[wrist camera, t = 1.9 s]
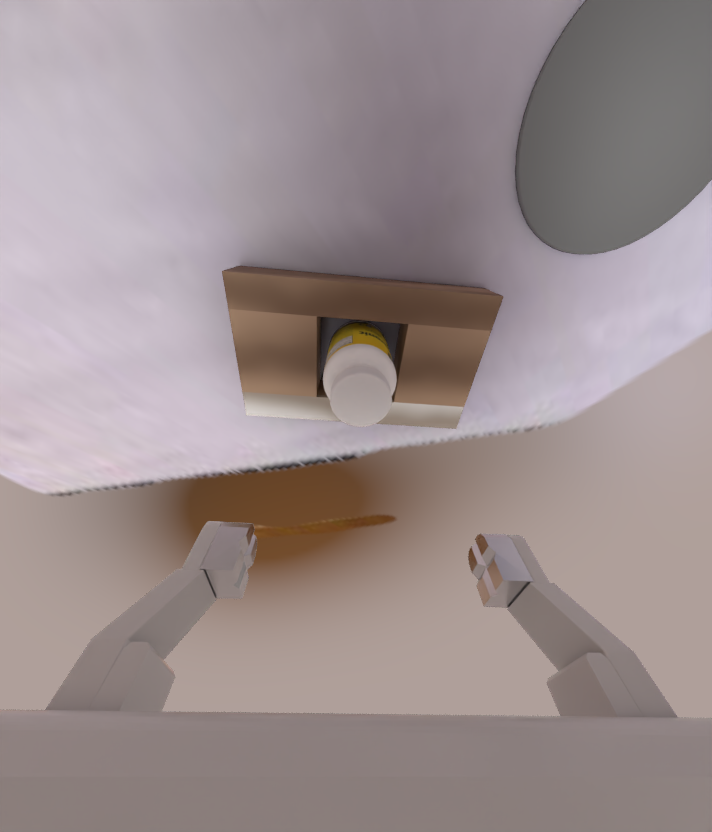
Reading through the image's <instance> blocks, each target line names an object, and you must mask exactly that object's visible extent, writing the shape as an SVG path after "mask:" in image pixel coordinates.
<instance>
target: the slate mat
mask: <svg viewBox="0 0 712 832" xmlns="http://www.w3.org/2000/svg"><path fill="white" fill-rule="evenodd" d="M711 180H712V0H586V1H585V2H584V3H583V5H582V6H581V7H580V9H579V10H578V11H577V13H576V14H575V15H574V17H573V18H572V19H571V21H570V22H569V23H568V25H567V26H566V28H565V29H564V31H563V33H562V34H561V36H560V37H559V39H558V40H557V42H556V44H555V45H554V47H553V49H552V51H551V53H550V54H549V56H548V58H547V60H546V62H545V64H544V66H543V68H542V70H541V72H540V74H539V77H538V79H537V81H536V84H535V86H534V88H533V90H532V93H531V96H530V99H529V102H528V105H527V108H526V111H525V114H524V118H523V122H522V126H521V130H520V134H519V140H518V147H517V154H516V188H517V194H518V200H519V204H520V207H521V210H522V213H523V216H524V218H525V220H526V222H527V224H528V226H529V227H530V228H531V230H532V231H533V232H534V234H535V235H536V236H537V237H538V238H539V239H540V240H542V241H543V242H544V243H546V244H547V245H549V246H550V247H552V248H554V249H557V250H560V251H562V252H568V253H573V254H597V253H604V252H607V251H611V250H615V249H618V248H621V247H623V246H626V245H629V244H631V243H633V242H635V241H637V240H639V239H641V238H643V237H645V236H646V235H648V234H649V233H651V232H653V231H654V230H656V229H658V228H659V227H660V226H662V225H663V224H664V223H666V222H667V221H668V220H670V219H671V218H673V217H674V216H675V215H676V214H677V213H678V212H680V211H681V210H682V209H683V208H684V207H685V206H687V205H688V204H689V203H690V202H691V201H692V200H693V199H694V198H695V197H696V196H697V195H698V194H699V193H700V192H701V191H702V190H703V189H704V188H705V186H706V185H707V184H708V183H709V182H710V181H711Z"/></svg>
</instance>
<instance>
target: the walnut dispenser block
mask: <svg viewBox="0 0 712 832" xmlns="http://www.w3.org/2000/svg"><path fill="white" fill-rule="evenodd" d="M222 274H223V280H224V286H225V292H226V298H227V303H228V309H229V315H230V321H231V327H232V333H233V339H234V345H235V351H236V357H237V363H238V369H239V374H240V380H241V386H242V392H243V398H244V404H245V410H246V415H250V416H265V417H281V418H297V419H312V420H328V421H341V420H340V419H338V418H337V417H336V415H335V414H334V412H333V411H332V408H331V405H330V400H329V398H328V396H327V395H326V392H325V390H324V385H323V380H320V364H321V317H330V318H342V319H354V320H366V321H378V322H390V323H400V328H399V334H398V340H397V346H396V352H395V358H394V366H395V370H396V376H397V382H396V387H395V391H394V393H393V395H392V404H391V407H390V410H389V412H388V413H387V415H386V416H385V417H384V418H383V419H382V420H381V421H379V422H378V423H376V424H390V425H406V426H421V427H437V428H452V429H456V428H457V425H458V422H459V419H460V416H461V414H462V411H463V408H464V405H465V402H466V400H467V397H468V394H469V391H470V389H471V386H472V383H473V380H474V377H475V375H476V372H477V369H478V366H479V363H480V361H481V358H482V355H483V352H484V350H485V347H486V344H487V341H488V338H489V336H490V333H491V330H492V327H493V324H494V322H495V319H496V316H497V313H498V310H499V308H500V305H501V302H502V299H503V296H501V295H499V294H496V293H494V292H492V291H490V290H487V289H485V288H475V287H464V286H453V285H443V284H432V283H421V282H410V281H399V280H388V279H377V278H366V277H355V276H345V275H334V274H323V273H312V272H301V271H290V270H279V269H268V268H258V267H247V266H237V267H234V268H230V269H227V270H224V271H222Z"/></svg>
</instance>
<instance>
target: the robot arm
mask: <svg viewBox="0 0 712 832" xmlns="http://www.w3.org/2000/svg"><path fill="white" fill-rule="evenodd" d="M254 530H255V529H254V525H253V524H250V523H230V522H215V521H208V522H207V523H206V524H205V526H204V527H203V529H202V531H201V532H200V534H199V536H198V538H197V540H196V542H195V544H194V546H193V548H192V550H191V552H190V554H189V555H188V557H187V559H186V561H185V563H184V565H183V567H182V569H176V570H175V571H174V572H173V573H172V574H170V575H169V576H168V577H167V578H165V579H164V580H163V581H162V582H160V583H159V584H158V585H157V586H155V587H154V588H153V589H152V590H151V591H149V592H148V593H147V594H146V595H144V596H143V597H142V598H141V599H140V600H138V601H137V602H136V603H135V604H134V605H132V606H131V607H130V608H129V609H127V610H126V611H125V612H124V613H123V614H121V615H120V616H119V617H118V618H116V619H115V620H114V621H113V622H112V623H110V624H109V625H108V626H107V627H105V628H104V629H103V630H102V631H101V632H99V633H98V634H97V635H96V636H94V637H93V638H92V639H91V641H90V642H89V644H88V645H87V647H86V648H85V650H84V651H83V653H82V655H81V656H80V658H79V659H78V660H77V662H76V664H75V665H74V667H73V668H72V670H71V671H70V673H69V674H68V676H67V677H66V679H65V680H64V682H63V684H62V685H61V687H60V688H59V690H58V691H57V693H56V694H55V696H54V697H53V699H52V700H51V702H50V704H49V705H48V706H47V708H46V709H45V710H0V832H712V718H678V717H677V715H676V714H675V713H674V711H673V709H672V708H671V706H670V705H669V703H668V702H667V700H666V699H665V697H664V696H663V695H662V693H661V692H660V690H659V688H658V687H657V686H656V684H655V683H654V681H653V680H652V678H651V677H650V675H649V674H648V672H647V671H646V669H645V668H644V666H643V665H642V663H641V662H640V660H639V659H638V657H637V656H636V654H635V653H634V652H633V651H632V650H631V649H630V648H629V647H627V646H626V645H625V644H624V643H623V642H622V641H620V640H619V639H618V638H617V637H616V636H615V635H613V634H612V633H611V632H610V631H609V630H608V629H607V628H605V627H604V626H603V625H602V624H601V623H599V622H598V621H597V620H596V619H595V618H594V617H593V616H591V615H590V614H589V613H588V612H587V611H585V610H584V609H583V608H582V607H581V606H580V605H579V604H578V603H576V602H575V601H574V600H573V599H572V598H571V597H569V596H568V595H567V594H566V593H565V592H564V591H562V590H561V589H560V588H559V587H558V586H557V585H555V584H554V583H549V581H548V579H547V577H546V575H545V574H544V572H543V570H542V569H541V567H540V565H539V563H538V561H537V560H536V558H535V556H534V555H533V553H532V551H531V549H530V547H529V546H528V544H527V542H526V540H525V539H524V538H523V537H522V536H519V535H505V534H504V535H503V534H479V535H477V537H476V539H475V540H476V544H474V545H473V546H471V548H470V550H469V556H468V560H469V565H470V568H471V571H472V573H473V574H474V575H475V576H476V577H477V578H478V583H477V589H478V591H479V594H480V597H481V600H482V603H483V605H484V606H486V607H502V608H508V611H509V612H510V613H511V614H512V615H513V617H514V618H515V619H516V620H517V621H518V623H519V624H520V625H521V626H522V627H523V629H524V630H525V631H526V632H527V634H529V636H530V637H531V638H532V640H533V641H534V642H535V643H536V644H537V646H538V647H539V648H540V649H541V650H542V652H543V653H544V654H545V655H546V656H547V658H548V659H549V660H550V661H551V662H552V664H553V665H554V666H555V667H556V668H557V670H558V671H559V672H557V673H556V674H554V675H553V676H551V677H549V678H548V681H547V685H548V688H549V690H550V692H551V695H552V697H553V699H554V702H555V704H556V707H557V709H558V711H559V714H560V716H504V715H503V716H502V715H501V716H500V715H495V716H494V715H417V714H416V715H415V714H333V713H331V714H329V713H246V712H245V713H244V712H241V713H240V712H163V711H162V709H163V707H164V704H165V702H166V699H167V697H168V694H169V691H170V689H171V686H172V684H173V681H174V679H175V674H174V671H173V670H172V669H171V668H170V667H169V666H168V664H167V663H166V662H165V661H164V659H165V658H166V657H167V655H168V654H169V653H170V652H171V651H172V650H173V649H174V648H175V646H176V645H177V644H178V643H179V642H180V641H181V640H182V638H183V637H184V636H185V635H186V634H187V633H188V632H189V631H190V629H191V628H192V627H193V626H194V625H195V624H196V623H197V621H198V620H199V619H200V618H201V617H202V616H203V615H204V614H205V612H206V611H207V610H208V609H209V608H210V607H211V606H212V604H213V603H214V602H215V601H216V598H239V599H240V598H242V597H243V594H244V591H245V588H246V585H247V582H248V578H249V577H248V572H247V569H249V567H251V566H252V565H253V562H254V558H255V555H256V549H257V539H256V536H254V535H253V533H254Z"/></svg>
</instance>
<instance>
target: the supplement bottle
mask: <svg viewBox="0 0 712 832" xmlns="http://www.w3.org/2000/svg"><path fill="white" fill-rule="evenodd" d="M396 382H397V376H396V370H395V366H394V363H393V360H392V357H391V354H390V351H389V348H388V344H387V341H386V339H385V337H384V335H383V333H382V332H381V331H380V330H379V329H378V328H377V327H376V326H374V325H373V324H371V323H368V322H364V321H353V322H349V323H347V324H345V325H343V326H341V327H340V328H339V329H338V330H337V331H336V332H335V333H334V335H333V337H332V339H331V341H330V345H329V349H328V354H327V359H326V363H325V368H324V373H323V385H324V390H325V392H326V395H327V396H328V398H329V400H330V405H331V408H332V411H333V412H334V414H335V415H336V417H337V418H338V419H340V420H341V421H342V422H344V423H346V424H348V425H351V426H356V427H365V426H370V425H373V424H376V423H378V422H379V421H381V420H382V419H383V418H384V417H385V416H386V415H387V413H388V412H389V410H390V407H391V404H392V395H393V393H394V391H395V387H396Z"/></svg>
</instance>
